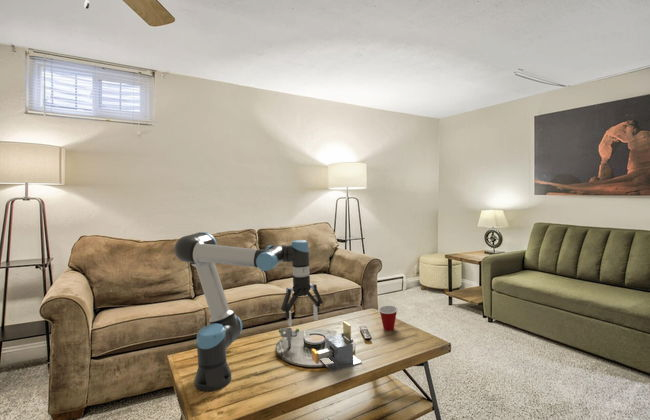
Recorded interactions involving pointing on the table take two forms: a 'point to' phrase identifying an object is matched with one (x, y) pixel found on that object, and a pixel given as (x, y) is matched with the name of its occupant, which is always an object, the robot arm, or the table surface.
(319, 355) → the lynch pin
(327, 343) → the grey boxy piece
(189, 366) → the table surface
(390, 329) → the plastic cup
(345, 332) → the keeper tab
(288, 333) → the mechanical component
